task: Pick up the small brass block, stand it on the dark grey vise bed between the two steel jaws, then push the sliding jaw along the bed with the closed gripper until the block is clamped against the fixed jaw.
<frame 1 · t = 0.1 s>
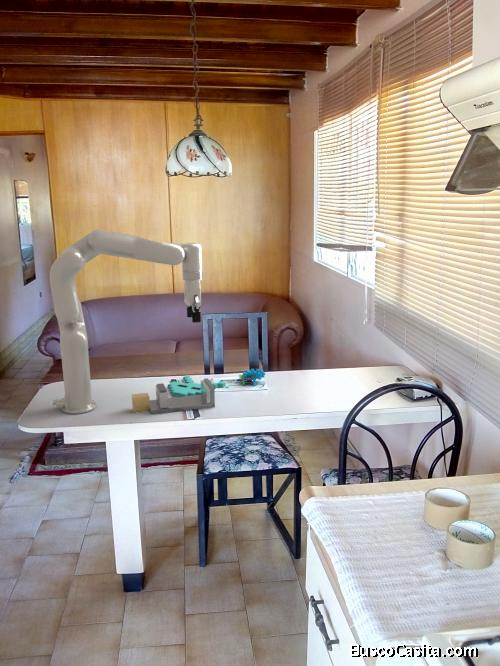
hand: (193, 319, 217), 31 cm above the table, tool pointing down, fingers open, 9 cm apart
vise bed: (180, 405, 213), on the table
blue flower cluster: (252, 383, 238), on the table
sliding jaw: (162, 395, 210), point 5 cm above the table, slide at 0.0 cm
alien figure: (192, 391, 231), on the table
brass block: (141, 410, 209), on the table
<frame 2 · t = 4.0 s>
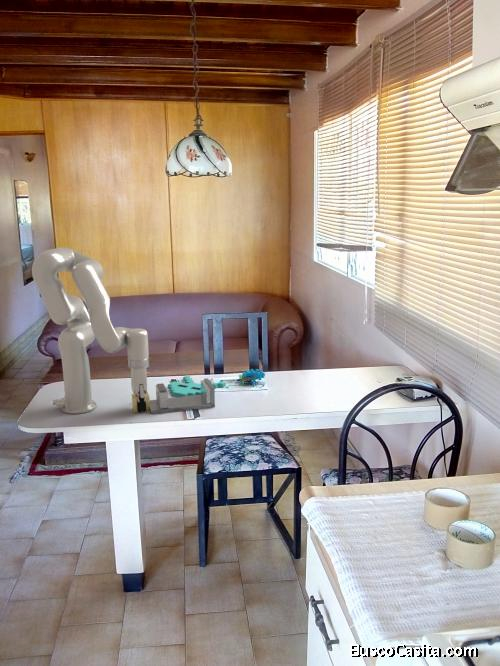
hand: (141, 408, 209), 1 cm above the table, tool pointing down, fingers closed on brass block, 4 cm apart
brass block: (141, 410, 209), on the table, touching gripper
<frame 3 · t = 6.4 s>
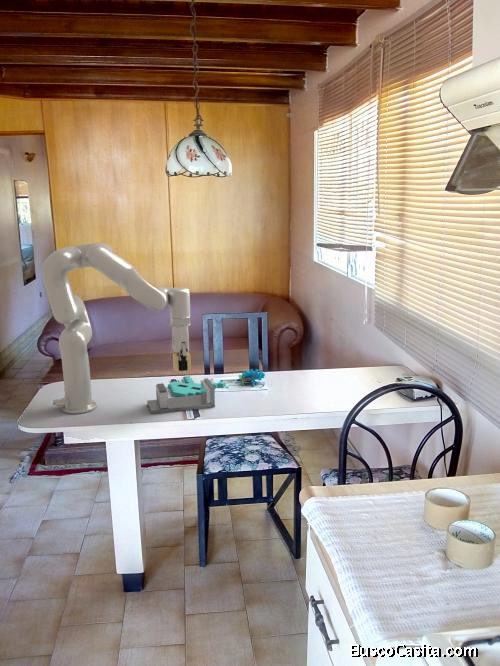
hand: (182, 368, 210), 15 cm above the table, tool pointing down, fingers closed on brass block, 4 cm apart
brass block: (182, 369, 210), point 14 cm above the table, touching gripper
everything else where it was.
when the fingers open (3 cm above the table, at t = 8.8 s): brass block stays where it is, resting on vise bed.
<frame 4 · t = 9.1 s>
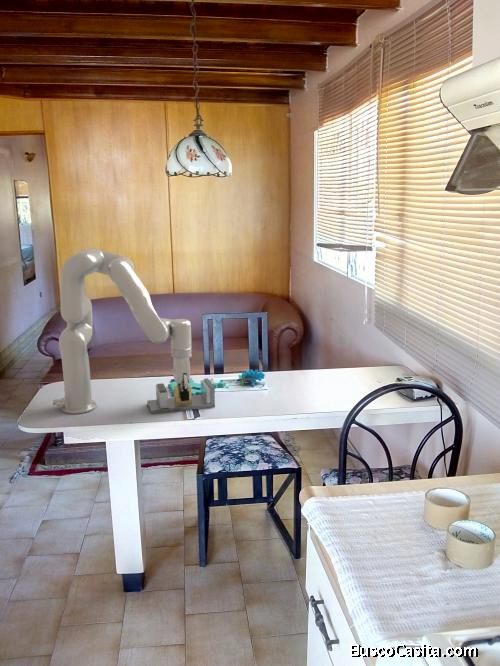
hand: (183, 397, 213), 3 cm above the table, tool pointing down, fingers open, 6 cm apart
brass block: (182, 401, 213), point 1 cm above the table, touching vise bed
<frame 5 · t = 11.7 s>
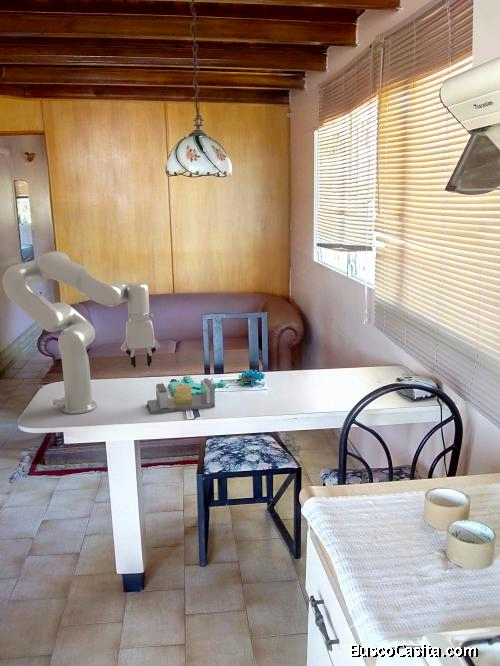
hand: (141, 365, 205), 17 cm above the table, tool pointing down, fingers open, 4 cm apart
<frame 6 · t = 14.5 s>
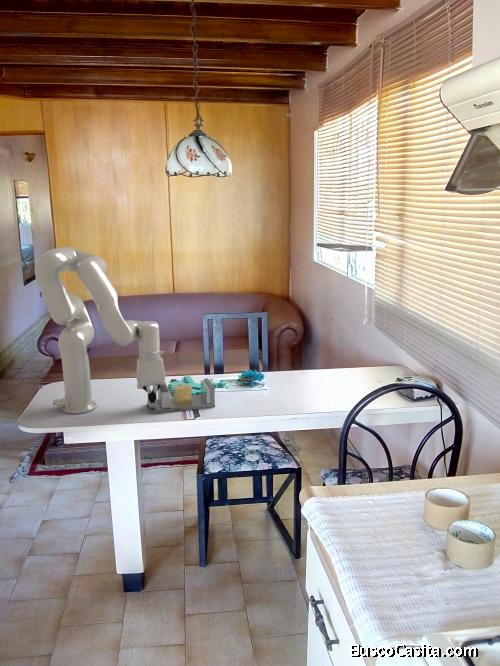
hand: (152, 402, 209), 3 cm above the table, tool pointing down, fingers closed
sliding jaw: (163, 395, 210), point 5 cm above the table, slide at 0.7 cm, touching gripper
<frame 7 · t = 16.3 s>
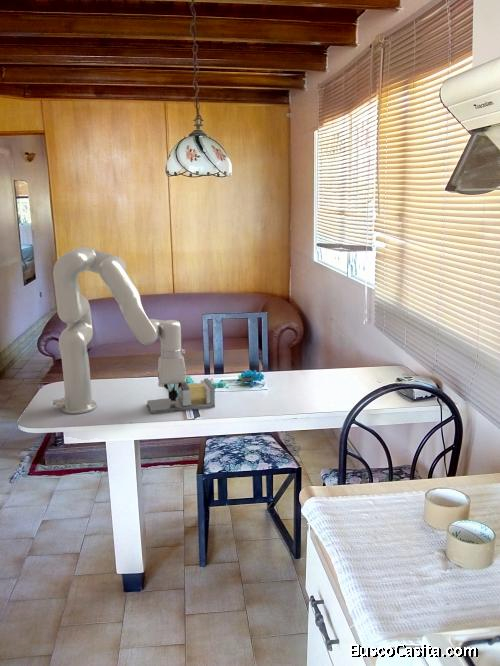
hand: (173, 399, 212), 3 cm above the table, tool pointing down, fingers closed
sliding jaw: (184, 392, 212), point 5 cm above the table, slide at 8.5 cm, touching brass block, gripper
brass block: (196, 400, 215), point 1 cm above the table, touching sliding jaw, vise bed
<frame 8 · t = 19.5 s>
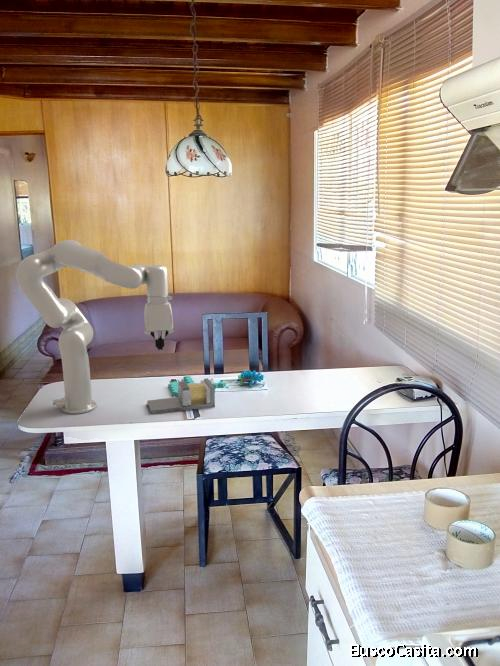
hand: (160, 348, 206), 23 cm above the table, tool pointing down, fingers closed
sliding jaw: (184, 392, 212), point 5 cm above the table, slide at 8.5 cm, touching brass block
at the end: sliding jaw slide at 8.5 cm; brass block 0.3 cm from the target spot, point 1.5 cm above the table; brass block tilted 0° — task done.
